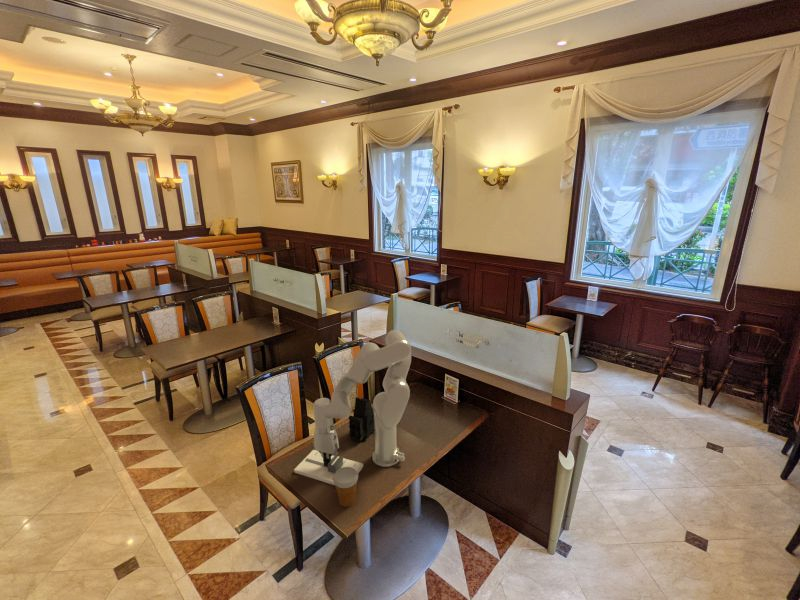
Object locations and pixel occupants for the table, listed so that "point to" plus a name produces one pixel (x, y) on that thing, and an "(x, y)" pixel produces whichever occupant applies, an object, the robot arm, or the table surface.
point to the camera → (361, 420)
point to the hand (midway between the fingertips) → (327, 463)
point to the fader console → (322, 467)
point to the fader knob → (335, 464)
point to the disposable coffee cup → (346, 485)
